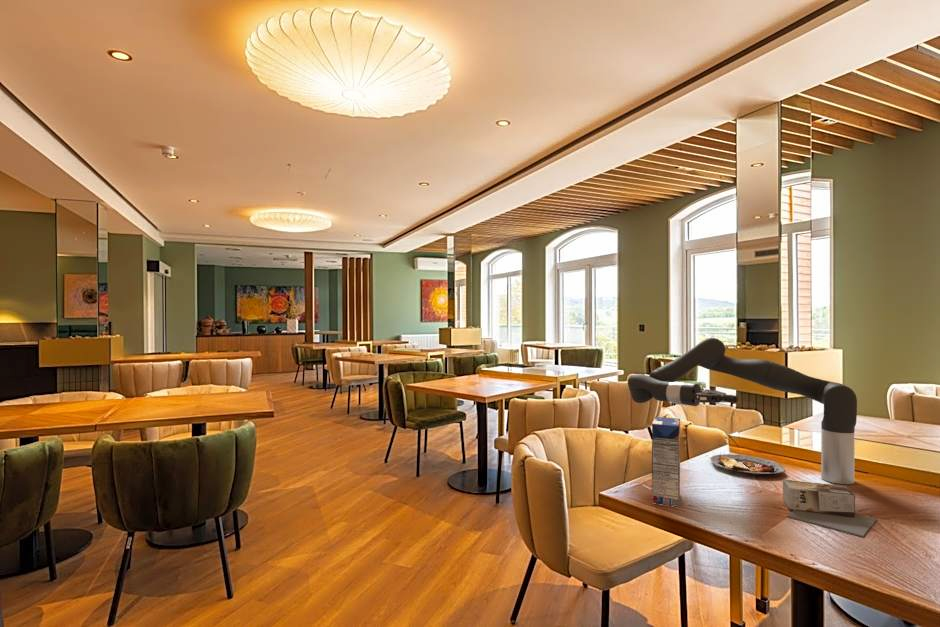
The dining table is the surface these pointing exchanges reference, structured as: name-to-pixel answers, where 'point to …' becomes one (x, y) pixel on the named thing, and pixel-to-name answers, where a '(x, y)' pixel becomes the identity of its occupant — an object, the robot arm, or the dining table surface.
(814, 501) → the coffee box
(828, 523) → the rubber mat
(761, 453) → the dining table surface
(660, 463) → the juice carton
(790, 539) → the dining table surface
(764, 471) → the food plate
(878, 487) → the dining table surface
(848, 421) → the robot arm
